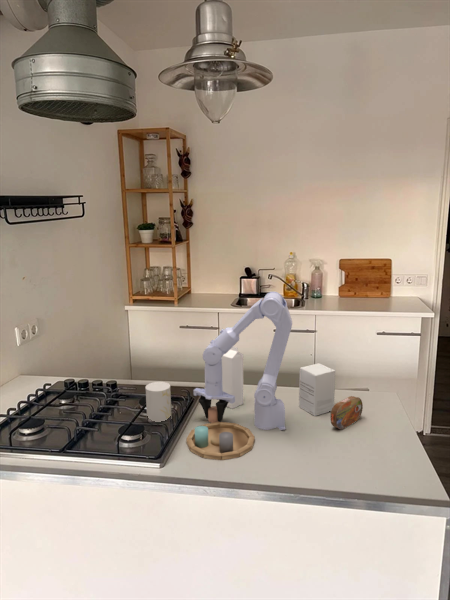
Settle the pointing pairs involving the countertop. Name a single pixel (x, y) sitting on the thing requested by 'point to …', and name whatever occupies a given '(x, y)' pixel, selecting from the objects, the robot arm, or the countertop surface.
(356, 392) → the countertop surface
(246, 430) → the tray
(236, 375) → the milk
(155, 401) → the white cylinder
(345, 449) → the countertop surface
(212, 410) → the bead terracotta
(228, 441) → the bead charcoal
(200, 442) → the bead teal
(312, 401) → the supplement box
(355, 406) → the tin
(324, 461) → the countertop surface
